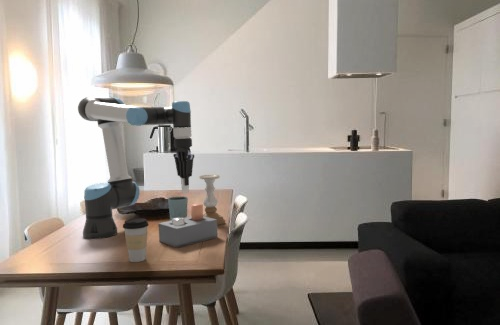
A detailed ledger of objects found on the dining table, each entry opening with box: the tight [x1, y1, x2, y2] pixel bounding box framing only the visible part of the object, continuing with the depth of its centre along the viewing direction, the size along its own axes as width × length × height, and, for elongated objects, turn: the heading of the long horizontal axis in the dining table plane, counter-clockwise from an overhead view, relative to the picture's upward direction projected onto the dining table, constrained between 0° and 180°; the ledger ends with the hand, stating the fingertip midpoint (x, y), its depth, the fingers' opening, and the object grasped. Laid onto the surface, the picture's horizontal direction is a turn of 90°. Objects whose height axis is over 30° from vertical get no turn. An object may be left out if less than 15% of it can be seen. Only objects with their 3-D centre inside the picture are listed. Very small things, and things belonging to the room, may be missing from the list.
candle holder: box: [198, 174, 226, 226], centre depth 214 cm, size 11×11×24 cm
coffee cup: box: [122, 217, 149, 263], centre depth 160 cm, size 9×9×15 cm
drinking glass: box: [167, 196, 189, 221], centre depth 221 cm, size 10×10×12 cm
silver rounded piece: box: [172, 218, 185, 226], centre depth 182 cm, size 5×5×7 cm
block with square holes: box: [158, 216, 219, 249], centre depth 186 cm, size 21×14×8 cm, turn 133°
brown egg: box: [190, 203, 204, 222], centre depth 189 cm, size 5×5×7 cm
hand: (185, 192), depth 183 cm, fingers closed
